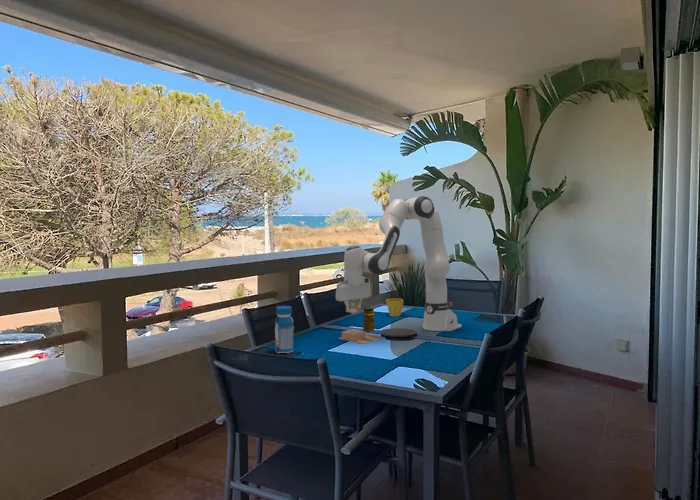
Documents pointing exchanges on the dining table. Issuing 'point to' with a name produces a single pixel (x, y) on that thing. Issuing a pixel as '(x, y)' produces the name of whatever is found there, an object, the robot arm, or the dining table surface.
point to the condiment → (368, 319)
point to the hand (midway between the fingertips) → (353, 308)
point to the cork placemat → (367, 339)
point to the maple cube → (354, 307)
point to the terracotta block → (353, 335)
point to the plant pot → (394, 306)
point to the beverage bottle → (284, 330)
